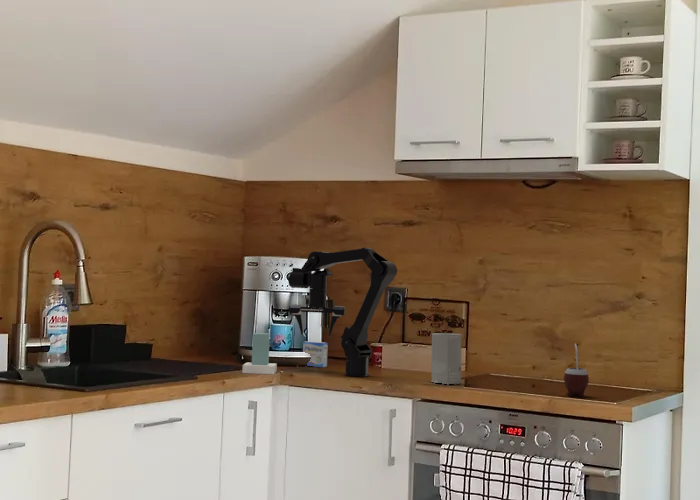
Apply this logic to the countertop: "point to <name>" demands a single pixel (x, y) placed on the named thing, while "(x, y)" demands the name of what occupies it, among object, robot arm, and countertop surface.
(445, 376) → the skincare box
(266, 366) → the grey plinth
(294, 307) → the robot arm
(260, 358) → the teal block
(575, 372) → the mate gourd
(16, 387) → the countertop surface
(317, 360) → the medicine box
